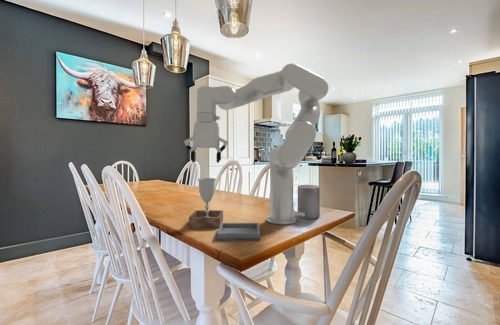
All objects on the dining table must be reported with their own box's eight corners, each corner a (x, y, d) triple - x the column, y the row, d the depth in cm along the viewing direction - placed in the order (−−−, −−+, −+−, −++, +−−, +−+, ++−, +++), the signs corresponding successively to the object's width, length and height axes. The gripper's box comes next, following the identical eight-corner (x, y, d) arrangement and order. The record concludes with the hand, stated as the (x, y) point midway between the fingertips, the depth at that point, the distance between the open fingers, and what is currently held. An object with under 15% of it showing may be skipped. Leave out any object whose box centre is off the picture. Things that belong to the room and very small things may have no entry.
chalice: (218, 221, 98) (217, 178, 98) (213, 226, 91) (213, 179, 91) (200, 220, 99) (200, 177, 98) (195, 225, 92) (195, 179, 92)
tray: (258, 228, 89) (258, 222, 89) (260, 240, 77) (260, 233, 77) (221, 228, 89) (221, 222, 89) (216, 240, 77) (216, 233, 77)
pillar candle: (305, 212, 114) (305, 181, 113) (324, 216, 106) (324, 183, 106) (293, 216, 107) (292, 183, 107) (311, 220, 100) (311, 185, 99)
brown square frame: (223, 219, 101) (223, 210, 101) (219, 228, 89) (219, 217, 89) (195, 219, 101) (195, 210, 101) (188, 228, 89) (188, 217, 89)
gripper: (229, 120, 98) (228, 162, 98) (186, 120, 97) (186, 161, 98) (227, 117, 90) (226, 163, 91) (181, 117, 90) (181, 162, 91)
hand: (205, 162), depth 94 cm, fingers open, 9 cm apart
